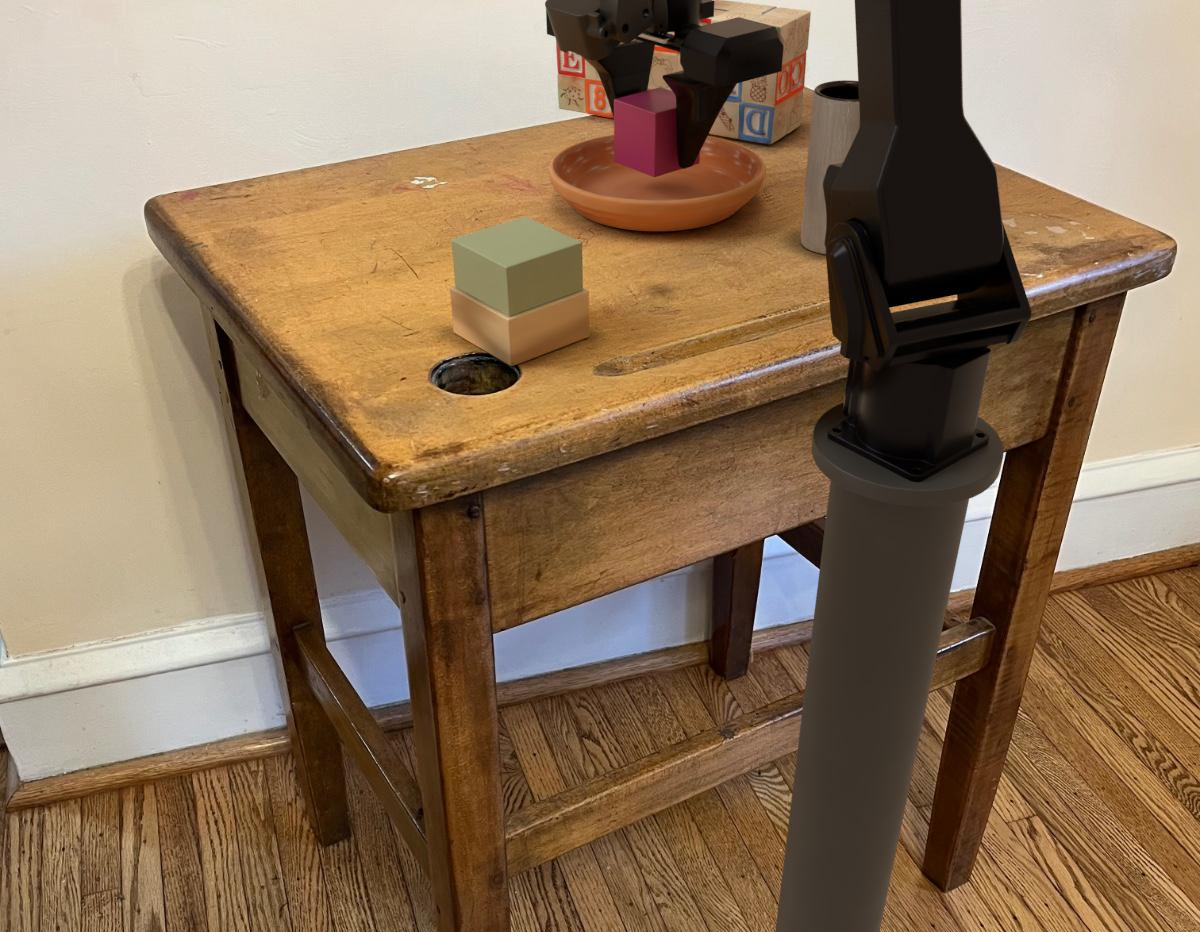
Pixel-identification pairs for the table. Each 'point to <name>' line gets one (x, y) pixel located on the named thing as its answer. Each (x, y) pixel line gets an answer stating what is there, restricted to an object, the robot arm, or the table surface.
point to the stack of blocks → (751, 106)
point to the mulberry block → (647, 132)
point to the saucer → (656, 186)
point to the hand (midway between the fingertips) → (657, 156)
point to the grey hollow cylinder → (827, 151)
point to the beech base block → (521, 326)
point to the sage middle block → (517, 265)
